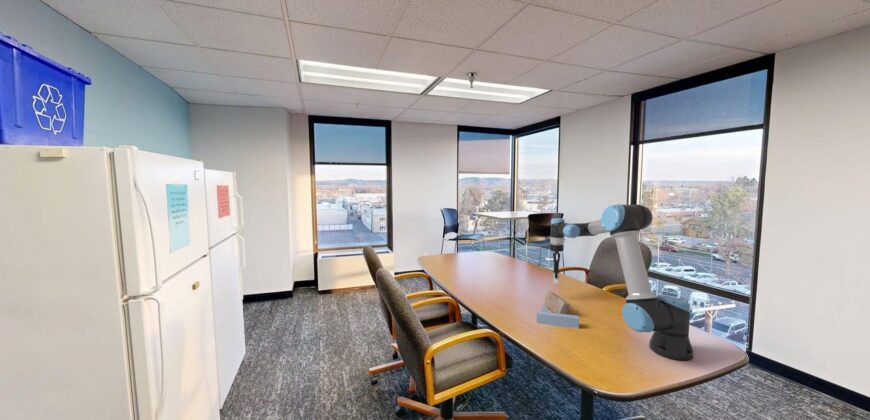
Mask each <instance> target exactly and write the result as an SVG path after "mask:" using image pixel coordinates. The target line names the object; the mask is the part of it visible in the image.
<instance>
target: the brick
mask: <svg viewBox="0 0 870 420" xmlns="http://www.w3.org/2000/svg"><path fill="white" fill-rule="evenodd" d="M543 305H544V307H548V309H550V310H551V312H552V313H559V314H567V315H568V312H569V311H570V308H571V303H569V302H567V301H566V300H565V299H563V298H562V297H560V296H559V295H558V294H556V293H554V292H553V291H550V290H548V291H547V292H546V294H545V297H544V300H543Z"/></svg>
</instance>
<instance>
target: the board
mask: <svg viewBox="0 0 870 420" xmlns="http://www.w3.org/2000/svg"><path fill="white" fill-rule="evenodd" d="M541 307H542V308H541V310H536V324H539V323H540V325H547V324H548V326H556V327H562V326H563V327H565V328H570V327H571V329H578V328H579V329H580V317H579V315H576V314H575V315H574V314H568V313H567V314H559V313H554V312H551V311H550V312H549V308H548V307H547V306H545V305H544V306H543V305H542V306H541Z"/></svg>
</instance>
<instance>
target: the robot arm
mask: <svg viewBox="0 0 870 420" xmlns="http://www.w3.org/2000/svg"><path fill="white" fill-rule="evenodd" d="M653 218H654V215H653V213H652V211H651V209H649V208H648V207H647V206H645V205H643V204H619V203H618V204H613V205H609V206H607V207H606V208H604V210H603V212H602V214H601V217H600V219H597V220H593V221H589V222H581V223H579V222H578V223H568V222H567V223H566V221H565V219H564V218H561V217H560V218H559V217H554V218H553V217H552V218H551V220H550V238H549V239H550V240H549V241H550V242H549V243H550V244H549V245H550V247H549V249H550V251H551V252H553V253H552V256H553V271H552V273H553V284H559V272H561V271H560V270H559V268H560V261H561V260H560V258H561V253H560V252H563V251H564V248H565V247H564V244H565V241H566V239H565V237H566V238H568V239H570V238H571V239H576V238H577V237H594V236H598V235H602V234H607V233H609V235H610V237H611V238H612V239H613V240H614V241H615V244H616V248H617V249H616V250H617V253H618V257H619V260H620V266H621V269H622V273H623V277H624V282H625V285H626V286H625V287H626V290H627V293H628V294H627V296H626V297H625V303H626V304H625V305H623V307H622V309H621V315H622V318H623V320H624V322H625V323H626V325H627V326H628V327H630V329H631V330H633V331H635V332H638V333H652V332H653V333H652V335H651V337H650V340H649V345H648V346H649V348H650V350H651V351H653V352H654V353H655V354H658V355H660V356H662V357H665V358H668V359H673V360H679V361H688V360H692V359H693V358H694V349H693V346H692V342H691V340H690V336H689V335H690V321H691V305H690V303H689V301H686V300H684V299H682V298H678V297H674V296H671V295H664V294H658V295H655V294H654V293H653V292H652V289H651V285H650V280H649V277H648V272H647V268H646V265H645V261H644V257H643V253H642V250H641V246H640V242H639V241H640V240H639V239H638V238H639V237H638V236H639V234H640V233H641V230H644V229H647V228H648V227H650V226H651V224H652V223H653V221H654V220H653Z"/></svg>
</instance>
